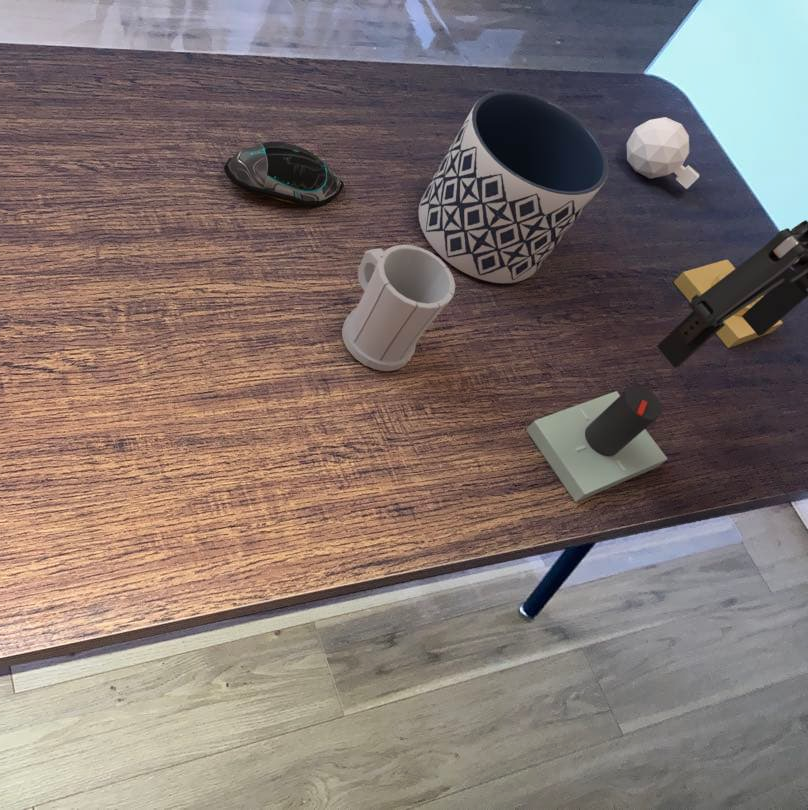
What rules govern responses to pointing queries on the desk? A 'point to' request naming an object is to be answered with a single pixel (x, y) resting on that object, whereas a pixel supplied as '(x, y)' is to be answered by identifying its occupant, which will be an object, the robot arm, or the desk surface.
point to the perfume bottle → (661, 150)
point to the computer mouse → (284, 174)
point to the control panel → (590, 450)
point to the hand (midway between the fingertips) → (711, 340)
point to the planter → (511, 186)
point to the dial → (623, 420)
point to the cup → (396, 304)
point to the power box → (703, 280)
